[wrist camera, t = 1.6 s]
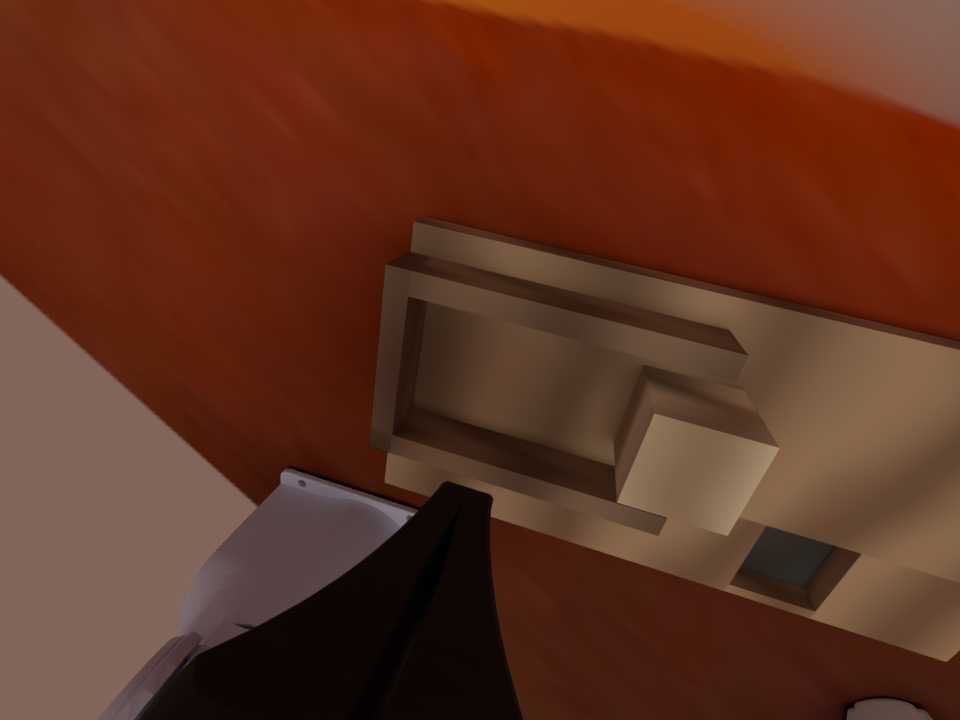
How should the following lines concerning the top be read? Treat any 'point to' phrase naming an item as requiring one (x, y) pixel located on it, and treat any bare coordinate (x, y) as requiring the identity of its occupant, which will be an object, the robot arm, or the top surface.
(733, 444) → the cube
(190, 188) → the top surface
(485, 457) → the cubby
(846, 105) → the top surface
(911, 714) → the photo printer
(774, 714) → the top surface
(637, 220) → the top surface
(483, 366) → the board
